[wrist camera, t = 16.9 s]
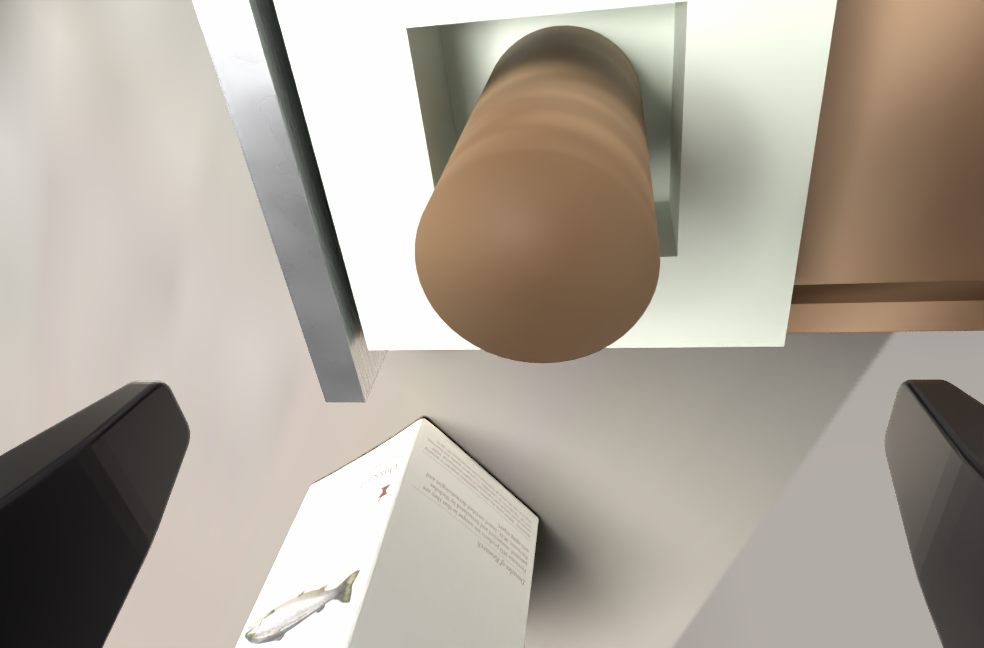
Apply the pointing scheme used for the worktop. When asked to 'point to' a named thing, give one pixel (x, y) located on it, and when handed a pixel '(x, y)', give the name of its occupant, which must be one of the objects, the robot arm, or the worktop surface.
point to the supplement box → (401, 556)
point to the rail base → (830, 200)
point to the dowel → (546, 205)
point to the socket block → (669, 130)
